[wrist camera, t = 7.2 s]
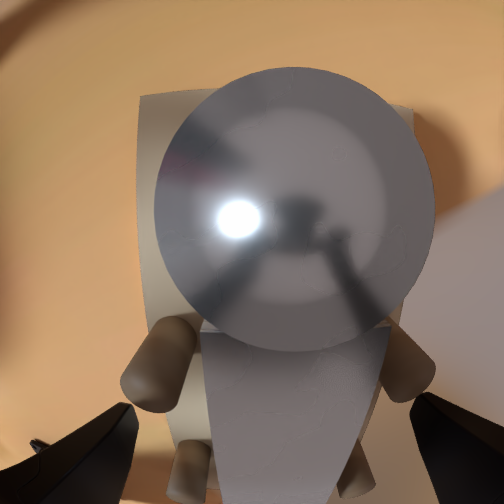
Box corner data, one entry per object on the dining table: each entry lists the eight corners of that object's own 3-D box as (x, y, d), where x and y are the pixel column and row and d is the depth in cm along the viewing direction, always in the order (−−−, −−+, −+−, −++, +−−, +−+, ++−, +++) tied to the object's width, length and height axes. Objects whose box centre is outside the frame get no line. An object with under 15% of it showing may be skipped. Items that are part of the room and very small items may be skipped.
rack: (338, 472, 12) (351, 519, 9) (190, 476, 12) (181, 525, 8) (402, 114, 8) (467, 87, 4) (148, 102, 8) (95, 61, 4)
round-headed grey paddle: (309, 476, 11) (320, 533, 7) (221, 479, 11) (216, 537, 7) (357, 129, 8) (430, 93, 4) (199, 122, 8) (158, 71, 4)
